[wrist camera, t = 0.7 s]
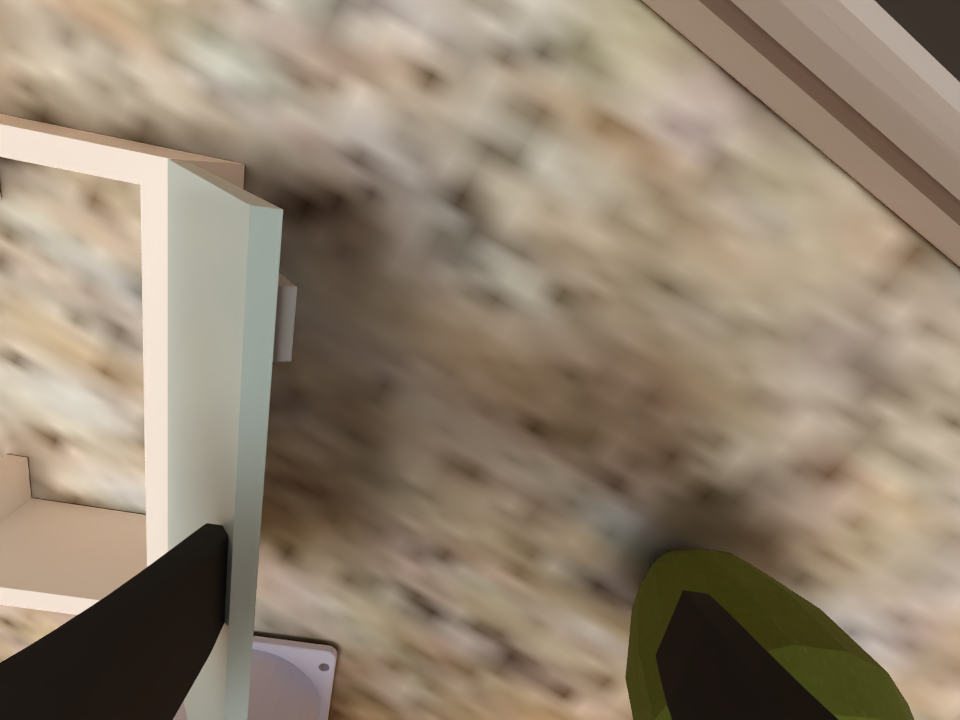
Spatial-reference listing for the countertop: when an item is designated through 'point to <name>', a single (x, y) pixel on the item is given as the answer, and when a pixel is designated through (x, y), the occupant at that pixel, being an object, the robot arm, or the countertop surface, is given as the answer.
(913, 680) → the countertop surface
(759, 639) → the olive green rounded lump
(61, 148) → the c-shaped bracket
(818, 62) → the toaster
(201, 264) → the cover
